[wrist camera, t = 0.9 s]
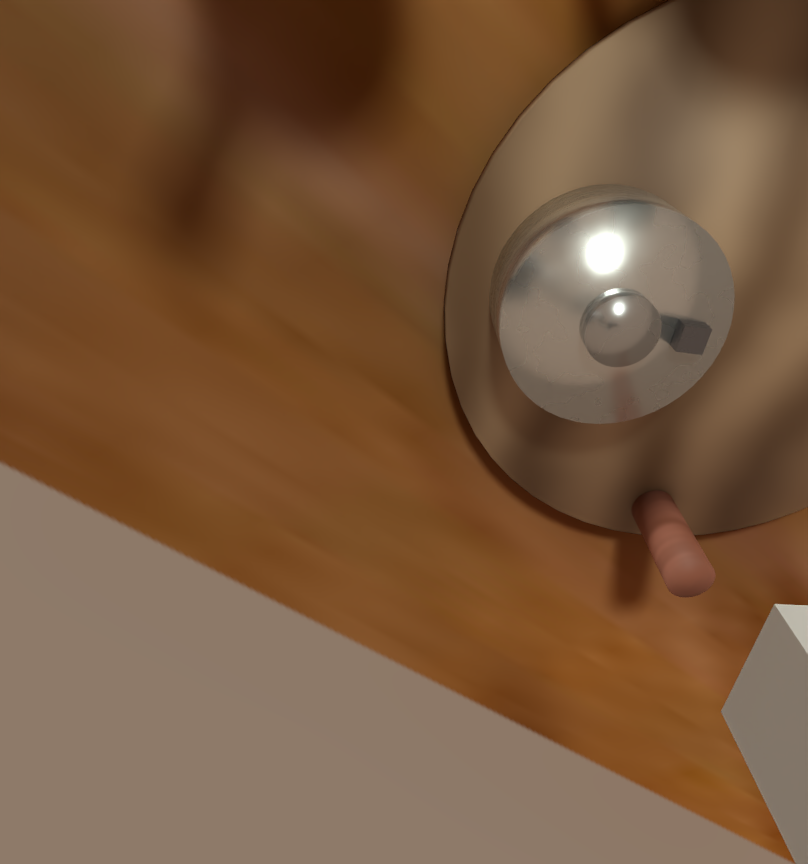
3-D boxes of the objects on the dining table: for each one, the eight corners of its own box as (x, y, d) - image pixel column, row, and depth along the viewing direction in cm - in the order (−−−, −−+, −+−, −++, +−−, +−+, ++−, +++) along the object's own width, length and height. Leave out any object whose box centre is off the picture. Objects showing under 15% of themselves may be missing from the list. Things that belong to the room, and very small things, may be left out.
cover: (470, 372, 36) (482, 421, 32) (515, 167, 31) (535, 193, 27) (659, 396, 37) (694, 446, 33) (731, 201, 32) (784, 231, 28)
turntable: (405, 498, 42) (408, 582, 35) (513, -88, 27) (549, -116, 21) (852, 546, 44) (927, 633, 38) (1160, 34, 30) (1358, 40, 24)
